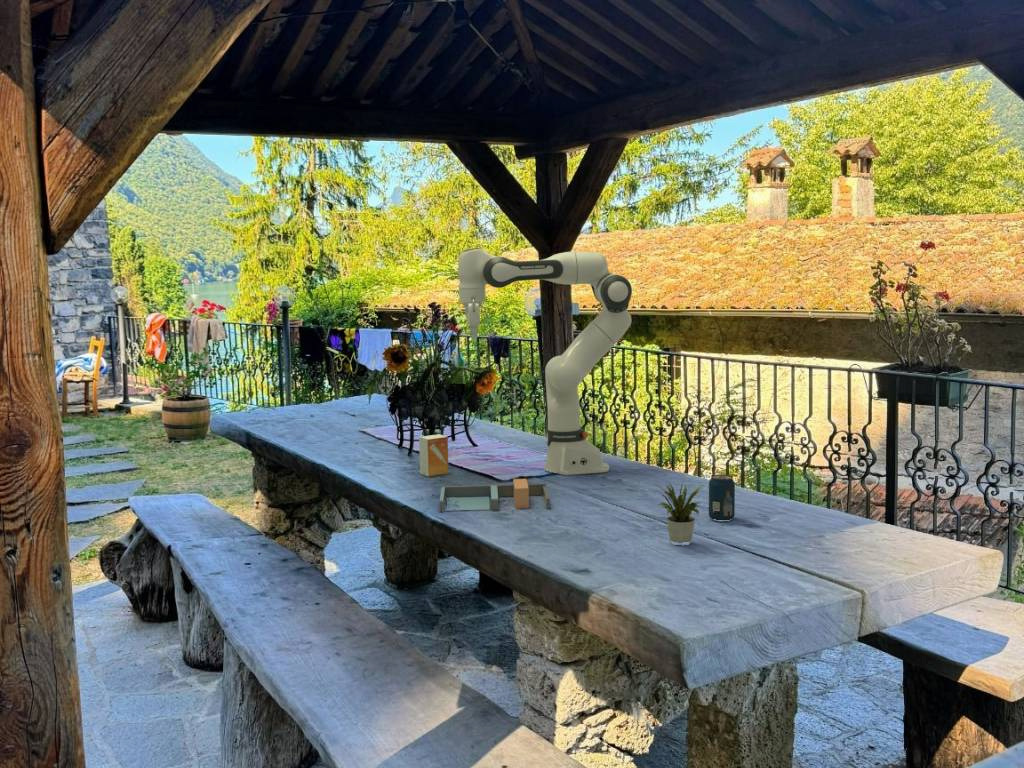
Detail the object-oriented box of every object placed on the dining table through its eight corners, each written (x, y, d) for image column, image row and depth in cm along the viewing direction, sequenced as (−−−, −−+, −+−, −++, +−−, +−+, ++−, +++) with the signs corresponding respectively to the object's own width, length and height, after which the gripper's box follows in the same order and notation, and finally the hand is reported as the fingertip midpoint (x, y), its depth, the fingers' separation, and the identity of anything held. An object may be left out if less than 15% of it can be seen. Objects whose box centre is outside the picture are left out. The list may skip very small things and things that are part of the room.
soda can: (715, 514, 259) (716, 472, 258) (738, 518, 255) (739, 475, 253) (704, 520, 254) (704, 477, 252) (727, 524, 249) (727, 480, 248)
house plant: (641, 548, 230) (641, 484, 228) (653, 533, 243) (653, 472, 241) (699, 553, 225) (699, 488, 223) (708, 537, 238) (708, 475, 236)
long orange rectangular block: (526, 498, 283) (526, 478, 283) (529, 508, 271) (528, 488, 271) (513, 498, 283) (513, 479, 282) (515, 508, 271) (514, 488, 271)
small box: (428, 477, 314) (427, 439, 313) (419, 473, 319) (418, 436, 318) (449, 473, 319) (448, 436, 317) (440, 470, 324) (439, 433, 322)
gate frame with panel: (545, 494, 286) (545, 483, 286) (549, 508, 270) (549, 496, 269) (442, 497, 285) (441, 486, 285) (439, 512, 269) (439, 500, 268)
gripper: (483, 297, 300) (484, 340, 302) (480, 295, 320) (481, 335, 322) (463, 298, 299) (465, 341, 301) (462, 296, 320) (463, 336, 321)
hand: (473, 338), depth 312 cm, fingers open, 8 cm apart
